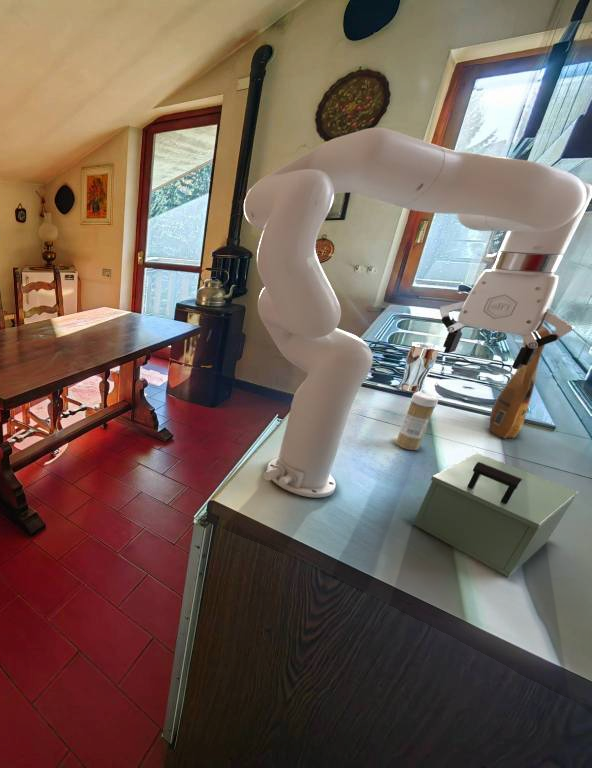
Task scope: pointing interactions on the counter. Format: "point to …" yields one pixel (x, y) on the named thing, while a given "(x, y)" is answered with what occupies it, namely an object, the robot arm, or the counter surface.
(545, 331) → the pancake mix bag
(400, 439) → the sprinkles bottle
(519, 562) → the green box
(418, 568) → the counter surface
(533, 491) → the lid
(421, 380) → the beer glass
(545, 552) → the counter surface
